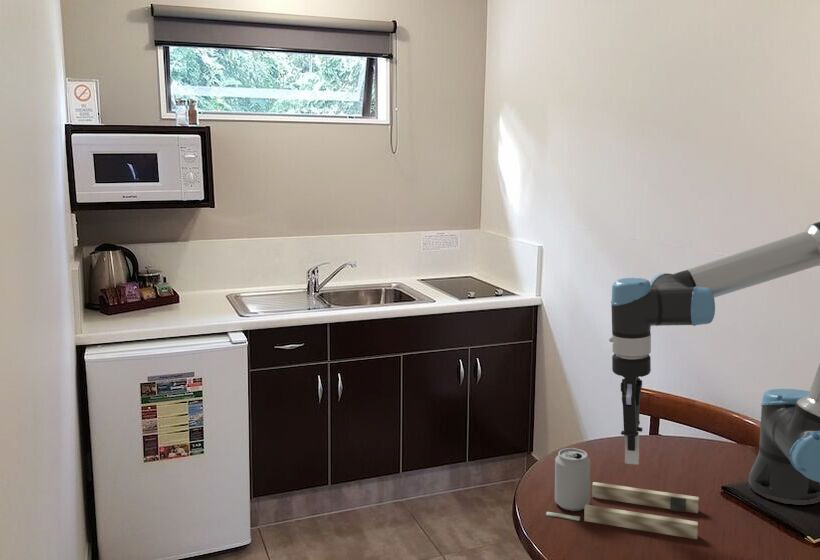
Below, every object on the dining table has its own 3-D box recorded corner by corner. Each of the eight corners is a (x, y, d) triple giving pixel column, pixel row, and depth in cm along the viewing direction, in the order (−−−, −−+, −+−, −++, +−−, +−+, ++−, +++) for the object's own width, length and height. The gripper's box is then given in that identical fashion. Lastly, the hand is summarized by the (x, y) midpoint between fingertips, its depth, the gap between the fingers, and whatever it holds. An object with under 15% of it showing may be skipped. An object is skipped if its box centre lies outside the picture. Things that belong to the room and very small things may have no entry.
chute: (698, 509, 156) (698, 496, 155) (697, 540, 144) (697, 526, 143) (557, 488, 167) (557, 476, 166) (545, 515, 155) (545, 502, 154)
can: (590, 514, 155) (591, 461, 153) (554, 511, 157) (554, 459, 154) (589, 497, 162) (590, 447, 160) (555, 495, 164) (555, 444, 162)
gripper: (616, 344, 156) (617, 448, 160) (608, 362, 144) (609, 473, 148) (652, 346, 153) (653, 451, 157) (648, 364, 141) (648, 478, 145)
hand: (632, 462), depth 153 cm, fingers closed
